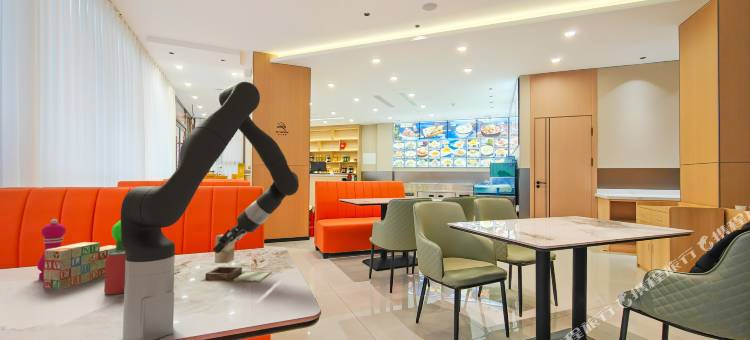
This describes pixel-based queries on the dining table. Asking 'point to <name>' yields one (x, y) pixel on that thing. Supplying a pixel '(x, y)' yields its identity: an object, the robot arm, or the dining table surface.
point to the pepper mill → (51, 241)
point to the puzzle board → (234, 275)
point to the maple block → (224, 252)
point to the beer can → (115, 272)
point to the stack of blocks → (74, 264)
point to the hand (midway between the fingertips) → (219, 249)
